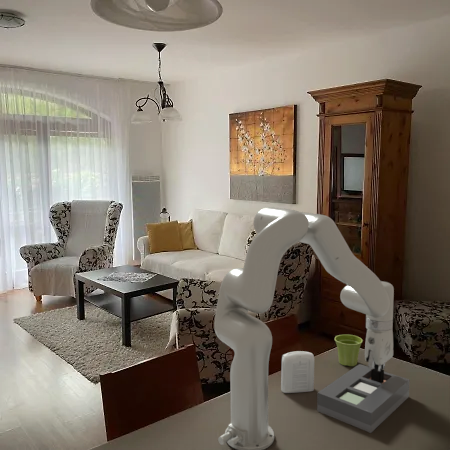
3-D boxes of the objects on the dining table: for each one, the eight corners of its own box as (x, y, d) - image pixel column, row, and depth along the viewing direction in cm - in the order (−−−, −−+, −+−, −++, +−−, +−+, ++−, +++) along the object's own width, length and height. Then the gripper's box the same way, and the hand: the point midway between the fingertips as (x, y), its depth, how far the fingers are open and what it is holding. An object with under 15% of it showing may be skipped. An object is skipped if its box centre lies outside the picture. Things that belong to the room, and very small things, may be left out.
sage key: (355, 411, 123) (355, 406, 123) (337, 404, 127) (337, 399, 127) (365, 403, 127) (365, 398, 127) (346, 396, 131) (347, 391, 130)
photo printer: (311, 385, 144) (312, 347, 143) (315, 392, 140) (316, 353, 139) (279, 388, 143) (279, 350, 141) (283, 394, 139) (283, 355, 137)
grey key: (369, 400, 129) (369, 395, 129) (351, 393, 133) (351, 388, 132) (377, 392, 133) (378, 387, 133) (360, 386, 136) (360, 382, 136)
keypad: (370, 433, 119) (371, 413, 118) (317, 411, 129) (317, 392, 129) (408, 396, 137) (409, 379, 136) (358, 380, 148) (359, 363, 147)
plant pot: (328, 360, 163) (329, 336, 162) (349, 355, 167) (350, 332, 166) (345, 370, 154) (346, 346, 153) (367, 365, 158) (368, 341, 157)
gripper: (380, 333, 128) (378, 395, 131) (401, 319, 139) (399, 377, 141) (355, 327, 133) (354, 387, 136) (378, 314, 144) (376, 370, 146)
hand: (377, 381), depth 138 cm, fingers closed
